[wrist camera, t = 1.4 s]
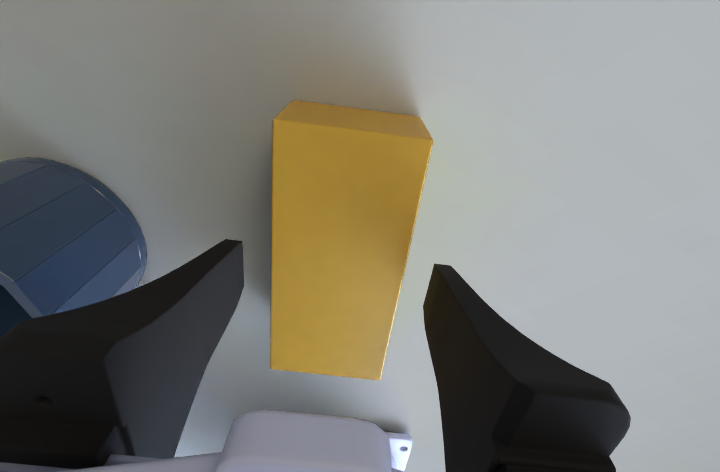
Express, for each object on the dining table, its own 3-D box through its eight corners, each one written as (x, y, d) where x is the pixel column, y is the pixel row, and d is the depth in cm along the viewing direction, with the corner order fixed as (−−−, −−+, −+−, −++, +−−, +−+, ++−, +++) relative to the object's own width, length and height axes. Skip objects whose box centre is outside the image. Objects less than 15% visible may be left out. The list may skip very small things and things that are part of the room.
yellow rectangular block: (378, 327, 20) (380, 381, 17) (285, 316, 20) (269, 369, 17) (420, 116, 15) (433, 139, 12) (293, 99, 14) (272, 118, 11)
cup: (157, 307, 20) (80, 408, 14) (8, 290, 19) (-127, 388, 14) (132, 168, 16) (16, 237, 11) (-52, 146, 16) (-265, 205, 10)
